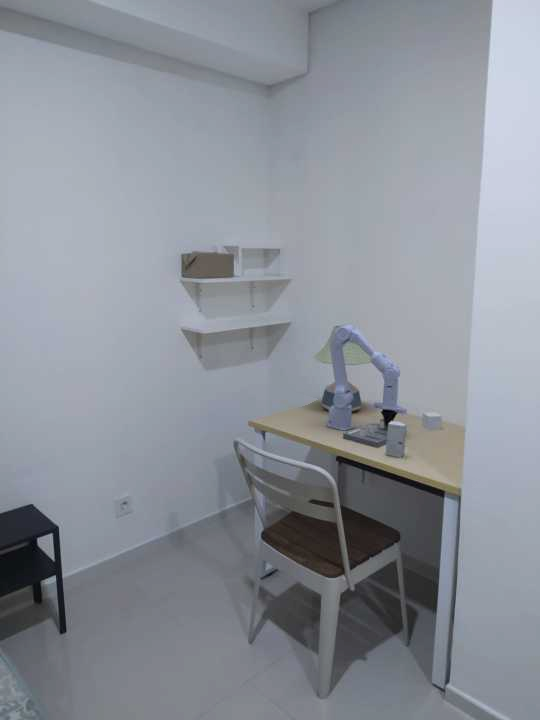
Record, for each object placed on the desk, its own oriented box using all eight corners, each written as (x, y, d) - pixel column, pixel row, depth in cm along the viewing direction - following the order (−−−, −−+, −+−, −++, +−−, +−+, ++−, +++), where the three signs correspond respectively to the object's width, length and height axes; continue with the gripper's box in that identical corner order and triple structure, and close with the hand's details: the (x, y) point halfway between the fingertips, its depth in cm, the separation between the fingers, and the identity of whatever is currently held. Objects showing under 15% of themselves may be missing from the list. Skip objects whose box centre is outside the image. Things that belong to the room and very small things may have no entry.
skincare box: (385, 455, 204) (387, 423, 202) (389, 451, 207) (390, 420, 205) (401, 458, 201) (403, 426, 199) (405, 454, 204) (407, 423, 202)
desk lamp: (301, 408, 266) (303, 322, 259) (340, 399, 285) (343, 319, 278) (342, 420, 248) (346, 328, 240) (380, 410, 266) (385, 324, 259)
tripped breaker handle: (379, 427, 229) (379, 419, 229) (383, 426, 232) (383, 418, 231) (383, 428, 228) (383, 420, 227) (387, 427, 230) (388, 419, 230)
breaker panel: (343, 438, 222) (343, 425, 221) (373, 427, 238) (373, 415, 237) (377, 447, 212) (378, 434, 211) (406, 435, 227) (407, 422, 226)
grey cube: (427, 430, 236) (428, 416, 235) (422, 426, 242) (422, 412, 241) (441, 429, 237) (441, 416, 236) (435, 425, 242) (435, 412, 241)
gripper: (369, 393, 228) (368, 425, 230) (401, 400, 218) (399, 433, 220) (379, 391, 233) (377, 422, 235) (410, 397, 223) (408, 429, 225)
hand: (388, 427), depth 228 cm, fingers closed
